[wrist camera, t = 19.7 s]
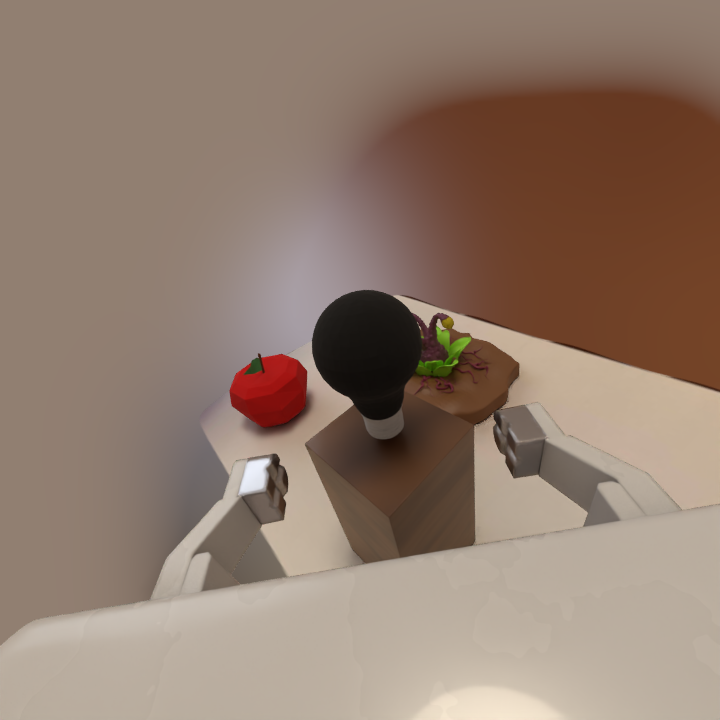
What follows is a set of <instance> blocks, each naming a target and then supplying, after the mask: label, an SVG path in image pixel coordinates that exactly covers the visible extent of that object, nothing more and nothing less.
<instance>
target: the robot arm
mask: <svg viewBox="0 0 720 720" xmlns="http://www.w3.org/2000/svg"><path fill="white" fill-rule="evenodd" d="M494 420H495V422H496V425H495V426H494V427H493V434H494V438H495V442H496V445H497V447H498V449H499V451H500V453H502V454H504V455H505V456H506V462H505V463H506V465H507V466H508V468H509V470H510V472H511V474H512V476H513V478H520V477H527V476H533V475H539V476H540V477H541V478H542V479H544V480H545V481H546V482H548V483H549V484H551V485H552V486H553V487H555V488H556V489H557V490H559V491H560V492H561V493H563V494H564V495H565V496H567V497H568V498H570V499H571V500H572V501H574V502H575V503H576V504H578V505H579V506H580V507H582V508H583V509H584V510H586V511H587V512H588V515H587V517H586V520H585V523H584V526H583V527H579V528H573V529H568V530H562V531H556V532H550V533H544V534H538V535H532V536H526V537H520V538H514V539H509V540H503V541H497V542H491V543H485V544H479V545H473V546H467V547H461V548H455V549H449V550H443V551H437V552H432V553H426V554H420V555H414V556H408V557H402V558H396V559H390V560H384V561H379V562H373V563H367V564H361V565H355V566H349V567H343V568H337V569H332V570H326V571H320V572H314V573H308V574H302V575H296V576H290V577H284V578H279V579H272V580H267V581H262V582H255V583H249V584H243V585H240V584H239V583H238V582H237V581H236V580H235V579H234V578H233V576H232V575H231V574H232V572H233V571H234V569H235V568H236V566H237V564H238V563H239V561H240V560H241V558H242V556H243V554H244V553H245V552H246V550H247V548H248V547H249V545H250V544H251V542H252V541H253V539H254V537H255V536H256V534H257V533H258V531H259V529H260V528H261V526H262V524H267V523H271V522H276V521H281V520H284V514H285V507H286V502H285V500H284V498H283V497H284V496H285V494H286V493H287V492H288V476H287V473H286V470H285V468H284V467H283V466H281V465H279V462H280V459H279V457H278V455H277V454H270V455H264V456H258V457H252V458H247V459H241V460H236V462H235V463H234V464H233V467H232V471H231V474H230V477H229V481H228V484H227V487H226V490H225V494H224V497H223V500H219V501H218V502H217V503H216V504H215V505H214V506H213V508H212V509H211V510H210V511H209V512H208V513H207V514H206V515H205V516H204V518H203V519H202V520H201V521H200V522H199V523H198V524H197V525H196V526H195V527H194V528H193V530H192V531H191V532H190V533H189V534H188V535H187V536H186V537H185V538H184V539H183V541H182V542H181V543H180V544H179V545H178V546H177V547H176V548H175V549H174V550H173V552H172V553H171V554H170V555H169V556H168V557H167V558H166V561H165V563H164V566H163V568H162V571H161V573H160V576H159V579H158V581H157V583H156V586H155V588H154V591H153V593H152V596H151V598H150V600H148V601H143V602H136V603H130V604H124V605H119V606H112V607H106V608H101V609H94V610H88V611H83V612H77V613H71V614H65V615H58V616H52V617H46V618H42V619H38V620H34V621H32V622H30V623H28V624H26V625H25V626H24V627H22V628H21V629H20V630H19V631H17V632H16V633H15V634H13V635H12V636H11V637H10V638H9V639H7V640H6V641H5V642H4V643H3V644H2V645H1V646H0V720H720V504H715V505H709V506H703V507H697V508H691V509H686V510H682V509H681V508H680V507H679V506H678V505H677V504H676V503H675V502H674V501H673V500H672V498H671V497H670V496H669V495H668V494H667V493H666V492H665V491H664V490H663V489H662V488H661V487H660V485H659V484H658V483H657V482H656V481H655V480H654V479H653V478H652V477H651V476H650V475H649V474H648V473H646V472H644V471H642V470H640V469H638V468H636V467H634V466H632V465H630V464H628V463H626V462H624V461H622V460H620V459H618V458H616V457H614V456H612V455H610V454H608V453H606V452H603V451H601V450H599V449H597V448H595V447H593V446H591V445H589V444H587V443H585V442H583V441H581V440H579V439H577V438H575V437H573V436H571V435H568V436H566V435H565V434H564V433H563V432H562V430H561V429H560V428H559V427H558V425H557V424H556V423H555V421H554V420H553V419H552V418H551V416H550V415H549V414H548V412H547V411H546V410H545V409H544V407H543V406H542V405H541V404H540V403H538V402H536V403H531V404H526V405H521V406H516V407H511V408H506V409H501V410H496V411H495V412H494Z"/></svg>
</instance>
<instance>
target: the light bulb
mask: <svg viewBox="0 0 720 720" xmlns="http://www.w3.org/2000/svg"><path fill="white" fill-rule="evenodd" d="M421 352H422V338H421V333H420V328H419V326H418V324H417V321H416V319H415V317H414V316H413V314H412V313H411V312H410V310H409V309H408V308H407V307H406V306H405V305H404V304H403V303H402V302H400V301H399V300H398V299H396V298H394V297H393V296H391V295H388V294H386V293H383V292H379V291H374V290H361V291H355V292H351V293H348V294H346V295H343V296H341V297H340V298H338V299H336V300H335V301H334V302H332V303H331V304H330V305H329V306H328V307H327V308H326V309H325V310H324V312H323V313H322V314H321V316H320V317H319V319H318V321H317V324H316V326H315V329H314V333H313V338H312V353H313V357H314V361H315V364H316V367H317V369H318V371H319V373H320V374H321V376H322V378H323V379H324V380H325V381H326V382H327V383H328V384H329V385H330V386H331V387H332V388H333V389H334V390H336V391H337V392H339V393H341V394H343V395H344V396H347V397H349V398H350V399H351V400H352V401H353V403H354V405H355V407H356V408H357V410H358V411H359V412H360V413H361V415H362V416H363V418H364V422H365V426H366V429H367V431H368V432H369V434H370V435H371V436H373V437H375V438H377V439H390V438H392V437H394V436H396V435H397V434H399V433H400V432H401V430H402V429H403V427H404V419H403V413H402V408H401V407H402V403H403V399H404V389H405V385H406V384H407V382H408V381H409V380H410V379H411V377H412V376H413V375H414V373H415V371H416V369H417V367H418V364H419V361H420V358H421Z"/></svg>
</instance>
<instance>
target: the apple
mask: <svg viewBox="0 0 720 720" xmlns="http://www.w3.org/2000/svg"><path fill="white" fill-rule="evenodd" d="M258 357H259V358H256V359H254V360H252V362H251V363H250V364H249V365H247V366H246V367H245V368H243V369H242V370H241V371H239V372H238V373H236V375H235V378H234V380H233V383H232V385H231V388H230V397H231V404H232V406H233V407H234V408H235V409H237V410H238V411H239V412H241V413H242V414H244V415H245V416H246V417H248V418H249V419H251V420H252V421H254V422H255V423H257V424H258V425H260V426H261V427H272V426H275V425H279V424H283V423H287V422H288V421H290V420H291V419H292V418H293V417H295V416H296V415H297V414H298V413H300V412H301V411H302V410H303V408H304V407H305V404H306V391H307V370H306V369H305V368H304V367H303V366H302V364H301V363H300V362H299V361H298V360H296V359H294V358H291V357H288V356H286V355H283V354H279V355H275V356H269V357H263V358H261V355H260V354H258Z"/></svg>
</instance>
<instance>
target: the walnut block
mask: <svg viewBox="0 0 720 720" xmlns="http://www.w3.org/2000/svg"><path fill="white" fill-rule="evenodd" d="M401 408H402V413H403V419H404V427H403V429H402V430H401V432H400V433H399V434H397V435H396V436H394V437H392V438H390V439H377V438H375V437H373V436H371V435H370V434H369V432H368V431H367V429H366V426H365V422H364V418H363V416H362V415H361V413H360V412H359V411H358V410H357V408H356V407H355V405H353V406H352V407H350V408H349V409H348V410H347V411H345V412H344V413H343V414H342V415H340V416H339V417H338V418H337V419H335V420H334V421H333V422H332V423H330V424H329V425H328V426H327V427H325V428H324V429H323V430H321V431H320V432H319V433H318V434H316V435H315V436H314V437H313V438H311V439H310V440H309V441H308V442H306V443H305V446H306V448H307V450H308V452H309V455H310V457H311V459H312V461H313V463H314V466H315V468H316V470H317V472H318V475H319V477H320V479H321V481H322V483H323V486H324V488H325V490H326V492H327V494H328V497H329V499H330V501H331V503H332V506H333V508H334V510H335V512H336V514H337V517H338V519H339V521H340V523H341V526H342V528H343V530H344V532H345V534H346V537H347V539H348V541H349V543H350V546H351V548H352V549H353V550H354V551H355V552H356V554H357V555H358V556H359V557H360V558H361V559H362V560H363V561H364V562H365V563H366V564H367V563H373V562H379V561H384V560H390V559H396V558H402V557H408V556H414V555H420V554H426V553H432V552H437V551H443V550H449V549H455V548H461V547H467V546H472V544H473V543H474V542H475V488H474V425H473V424H471V423H469V422H467V421H465V420H463V419H461V418H459V417H457V416H455V415H453V414H451V413H448V412H446V411H444V410H442V409H440V408H438V407H436V406H434V405H432V404H430V403H428V402H426V401H424V400H422V399H420V398H418V397H416V396H414V395H412V394H410V393H408V392H406V391H404V399H403V403H402V407H401Z"/></svg>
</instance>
